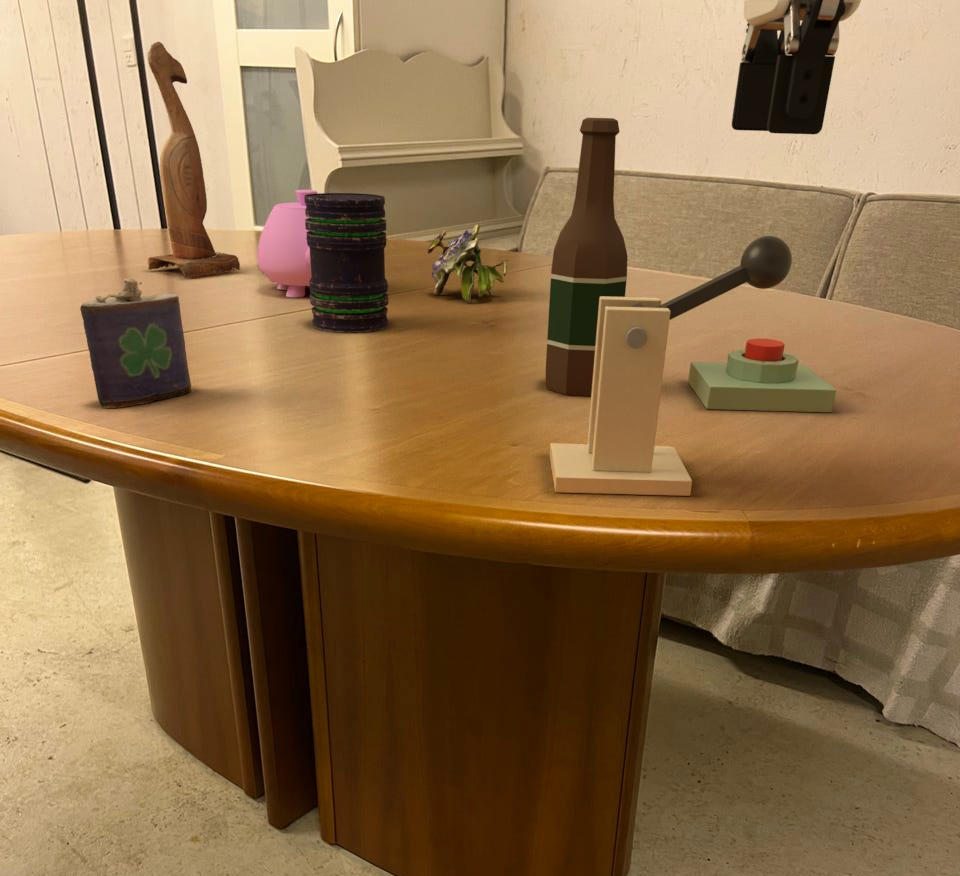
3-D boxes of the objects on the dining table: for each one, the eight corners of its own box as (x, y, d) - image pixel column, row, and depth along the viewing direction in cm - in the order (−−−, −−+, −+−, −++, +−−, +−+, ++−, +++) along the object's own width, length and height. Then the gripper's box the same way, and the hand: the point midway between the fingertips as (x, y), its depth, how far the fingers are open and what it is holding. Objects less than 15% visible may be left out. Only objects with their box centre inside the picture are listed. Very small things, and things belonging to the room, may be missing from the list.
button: (776, 356, 93) (779, 338, 92) (785, 365, 89) (789, 346, 89) (740, 355, 93) (743, 337, 92) (748, 364, 89) (751, 345, 89)
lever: (790, 270, 66) (775, 224, 64) (804, 278, 63) (789, 229, 61) (619, 354, 69) (601, 311, 67) (625, 365, 66) (606, 321, 64)
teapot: (384, 302, 133) (381, 196, 126) (276, 307, 128) (267, 197, 121) (346, 278, 150) (342, 184, 143) (249, 282, 145) (240, 185, 138)
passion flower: (440, 332, 142) (419, 258, 142) (507, 316, 143) (487, 243, 143) (444, 299, 131) (422, 219, 131) (518, 283, 132) (495, 204, 132)
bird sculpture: (244, 271, 154) (222, 43, 138) (186, 279, 146) (155, 38, 130) (202, 264, 160) (177, 45, 144) (144, 271, 152) (109, 39, 136)
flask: (183, 386, 91) (167, 271, 86) (199, 393, 89) (184, 275, 84) (93, 404, 85) (70, 281, 80) (108, 411, 84) (85, 286, 78)
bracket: (672, 460, 75) (694, 295, 69) (690, 496, 68) (716, 315, 62) (549, 457, 75) (559, 291, 69) (555, 492, 68) (567, 312, 62)
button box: (801, 385, 97) (809, 346, 95) (831, 412, 88) (840, 370, 86) (687, 382, 97) (692, 343, 95) (706, 409, 88) (712, 367, 86)
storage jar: (381, 316, 124) (377, 193, 117) (396, 331, 116) (393, 199, 109) (306, 318, 122) (297, 192, 114) (317, 334, 113) (308, 199, 106)
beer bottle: (530, 379, 97) (544, 116, 85) (598, 375, 99) (620, 118, 87) (559, 399, 90) (577, 117, 78) (630, 394, 92) (659, 119, 81)
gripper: (962, -270, 44) (877, 137, 53) (844, -174, 59) (793, 130, 68) (805, -274, 44) (745, 133, 53) (727, -177, 59) (690, 128, 68)
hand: (772, 131), depth 60 cm, fingers open, 9 cm apart
